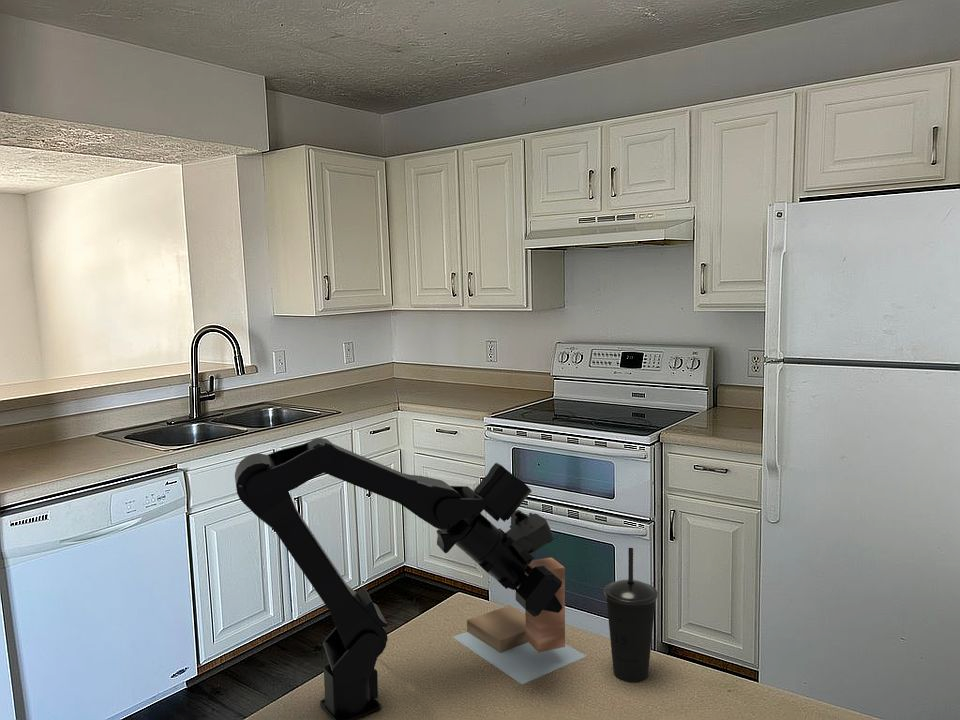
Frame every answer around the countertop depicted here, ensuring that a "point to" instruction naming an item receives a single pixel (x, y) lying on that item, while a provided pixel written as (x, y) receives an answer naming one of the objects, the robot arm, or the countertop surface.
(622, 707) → the countertop surface
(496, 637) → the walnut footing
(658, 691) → the countertop surface
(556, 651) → the board
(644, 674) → the drinking cup
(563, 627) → the terracotta pillar
